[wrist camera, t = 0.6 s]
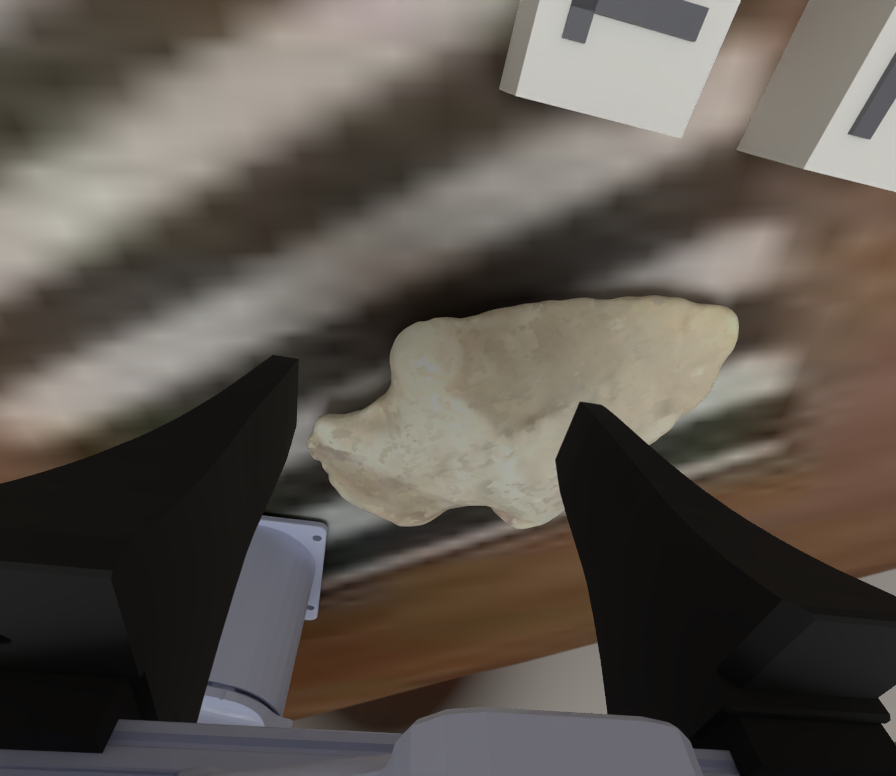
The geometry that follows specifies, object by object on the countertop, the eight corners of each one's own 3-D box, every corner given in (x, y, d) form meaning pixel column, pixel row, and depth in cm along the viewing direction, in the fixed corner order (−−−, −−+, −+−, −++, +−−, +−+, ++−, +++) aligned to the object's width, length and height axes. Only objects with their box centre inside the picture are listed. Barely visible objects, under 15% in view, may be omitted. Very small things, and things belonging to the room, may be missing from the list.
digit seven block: (851, 178, 19) (948, 205, 15) (734, 149, 18) (807, 170, 14) (951, 18, 16) (1098, 5, 12) (817, -24, 15) (933, -50, 12)
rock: (260, 381, 23) (682, 169, 18) (403, 541, 30) (736, 414, 25) (234, 431, 20) (735, 190, 15) (400, 597, 27) (780, 464, 22)
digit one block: (633, 123, 17) (684, 139, 14) (498, 89, 17) (516, 96, 13) (702, -61, 15) (787, -99, 11) (545, -111, 14) (583, -169, 10)
